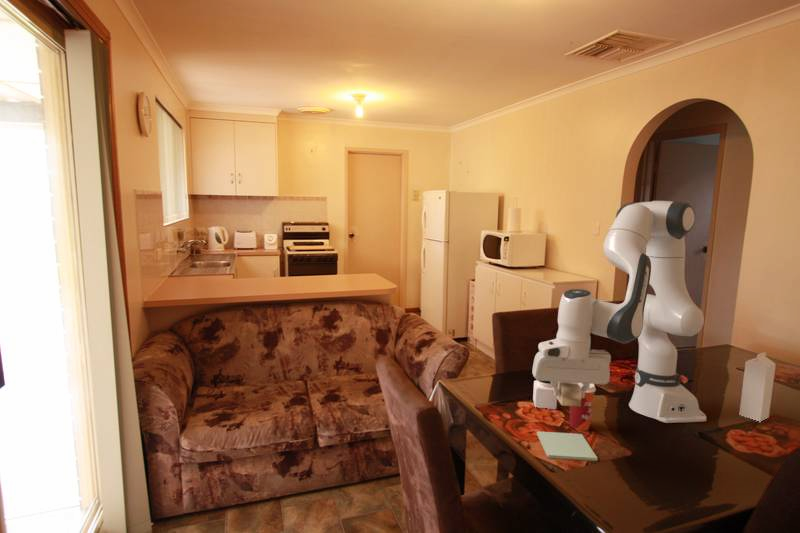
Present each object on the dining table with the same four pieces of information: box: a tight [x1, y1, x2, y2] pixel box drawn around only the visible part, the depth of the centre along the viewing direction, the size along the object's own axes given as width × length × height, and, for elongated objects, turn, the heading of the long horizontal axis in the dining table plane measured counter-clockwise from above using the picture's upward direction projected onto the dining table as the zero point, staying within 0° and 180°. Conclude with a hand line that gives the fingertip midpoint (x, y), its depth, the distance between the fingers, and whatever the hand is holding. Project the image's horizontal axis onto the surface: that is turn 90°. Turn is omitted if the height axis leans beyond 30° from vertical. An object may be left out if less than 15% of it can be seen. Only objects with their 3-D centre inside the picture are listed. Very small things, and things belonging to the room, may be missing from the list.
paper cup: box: [569, 383, 597, 432], centre depth 136 cm, size 8×8×14 cm
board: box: [536, 431, 599, 462], centre depth 124 cm, size 13×13×1 cm
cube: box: [557, 382, 582, 407], centre depth 122 cm, size 5×5×5 cm
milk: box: [738, 351, 777, 423], centre depth 145 cm, size 6×6×22 cm
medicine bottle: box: [532, 380, 558, 410], centre depth 151 cm, size 7×7×12 cm
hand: (568, 396), depth 122 cm, fingers closed on cube, 5 cm apart
